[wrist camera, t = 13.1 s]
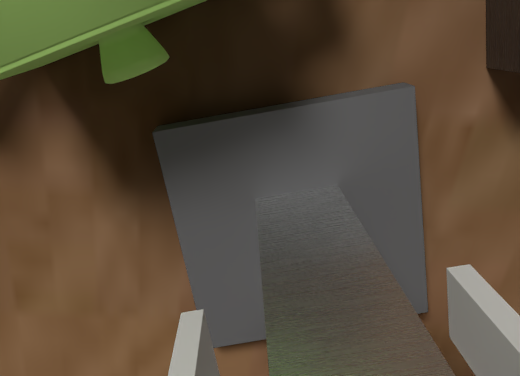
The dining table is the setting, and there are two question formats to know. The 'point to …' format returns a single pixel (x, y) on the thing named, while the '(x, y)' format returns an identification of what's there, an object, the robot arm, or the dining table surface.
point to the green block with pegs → (84, 33)
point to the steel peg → (334, 294)
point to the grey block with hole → (503, 35)
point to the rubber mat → (291, 191)
